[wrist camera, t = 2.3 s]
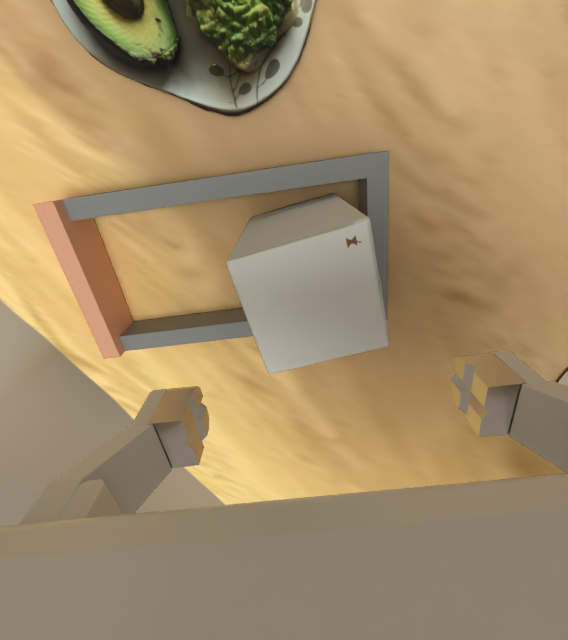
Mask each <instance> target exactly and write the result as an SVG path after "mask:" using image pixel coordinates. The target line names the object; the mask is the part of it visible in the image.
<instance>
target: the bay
mask: <svg viewBox="0 0 568 640" xmlns="http://www.w3.org/2000/svg"><path fill="white" fill-rule="evenodd" d="M357 179H358V186H359V211H360V212H361V213H363V214H364V215H366V216H367V217H368V218H369V219H370V223H371V230H372V237H373V243H374V249H375V256H376V262H377V268H378V274H379V278H380V282H381V290H382V297H383V303H384V310H385V316H386V320H387V275H388V180H389V151H383V152H375V153H369V154H362V155H355V156H349V157H342V158H335V159H329V160H322V161H315V162H309V163H302V164H295V165H289V166H282V167H275V168H268V169H262V170H255V171H248V172H242V173H235V174H228V175H222V176H215V177H208V178H202V179H195V180H188V181H182V182H175V183H168V184H162V185H155V186H148V187H142V188H135V189H128V190H122V191H115V192H108V193H102V194H95V195H88V196H82V197H75V198H68V199H62V200H56V201H50V202H44V203H38V204H33V206H34V209H35V211H36V213H37V215H38V217H39V219H40V222H41V224H42V226H43V228H44V230H45V232H46V235H47V237H48V239H49V241H50V243H51V246H52V248H53V250H54V252H55V254H56V256H57V259H58V261H59V263H60V265H61V267H62V269H63V272H64V274H65V276H66V278H67V280H68V282H69V285H70V287H71V289H72V291H73V293H74V295H75V298H76V300H77V302H78V304H79V306H80V308H81V311H82V313H83V315H84V317H85V319H86V322H87V324H88V326H89V328H90V330H91V332H92V335H93V337H94V339H95V341H96V343H97V345H98V348H99V350H100V352H101V354H102V356H103V358H104V359H107V358H116V357H120V356H121V355H122V354H123V353H124V352H125V351H129V350H137V349H146V348H155V347H163V346H172V345H180V344H189V343H197V342H206V341H215V340H223V339H232V338H240V337H249V336H253V334H252V331H251V328H250V326H249V323H248V321H247V318H246V315H245V313H244V310H243V308H239V309H231V310H223V311H215V312H207V313H199V314H190V315H182V316H174V317H166V318H158V319H150V320H141V321H133V318H132V316H131V313H130V311H129V308H128V306H127V303H126V300H125V298H124V295H123V293H122V290H121V287H120V285H119V282H118V280H117V277H116V275H115V272H114V269H113V267H112V264H111V262H110V259H109V256H108V254H107V251H106V249H105V246H104V243H103V241H102V238H101V236H100V233H99V231H98V228H97V225H96V223H95V220H94V218H95V217H102V216H109V215H116V214H123V213H129V212H136V211H143V210H150V209H157V208H164V207H171V206H178V205H185V204H191V203H198V202H205V201H212V200H219V199H226V198H233V197H240V196H247V195H253V194H260V193H267V192H274V191H281V190H288V189H295V188H302V187H309V186H316V185H322V184H329V183H336V182H343V181H350V180H357Z"/></svg>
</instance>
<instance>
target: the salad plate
mask: <svg viewBox="0 0 568 640" xmlns="http://www.w3.org/2000/svg"><path fill="white" fill-rule="evenodd" d="M51 2H52V3H53V5H54V6H55V8H56V10H57V12H58V14H59V16H60V17H61V19H62V21H63V22H64V24H65V26H66V27H67V28H68V30H69V31H70V32H71V34H72V35H73V36H74V38H75V39H76V40H77V41H78V42H79V43H80V44H81V45H82V46H83V47H84V48H85V49H86V50H87V52H88V53H89V54H90V55H91V56H92V57H94V58H95V59H96V60H98V61H99V62H100V63H102V64H103V65H105V66H107V67H108V68H110V69H111V70H113V71H115V72H117V73H119V74H121V75H123V76H126V77H128V78H130V79H133V80H135V81H137V82H139V83H141V84H143V85H145V86H148V87H152V88H155V89H158V90H161V91H163V92H166V93H169V94H171V95H174V96H176V97H179V98H181V99H184V100H186V101H188V102H190V103H191V104H194V105H196V106H198V107H200V108H202V109H204V110H207V111H214V112H217V113H220V114H224V115H227V116H237V115H241V114H243V113H246V112H249V111H251V110H252V109H254V108H256V107H258V106H259V105H261V104H262V103H264V102H265V101H267V100H268V99H270V98H271V97H272V96H273V95H274V94H275V93H276V92H277V91H278V90H279V89H280V88H281V87H282V86H283V85H284V84H285V82H286V81H287V80H288V78H289V77H290V75H291V73H292V71H293V70H294V68H295V66H296V64H297V62H298V61H299V59H300V56H301V54H302V51H303V48H304V46H305V44H306V40H307V37H308V34H309V31H310V25H311V19H312V14H313V10H314V6H315V2H316V0H51ZM214 64H216V65H214ZM212 65H213V66H212Z"/></svg>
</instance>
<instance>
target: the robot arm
mask: <svg viewBox="0 0 568 640" xmlns="http://www.w3.org/2000/svg"><path fill="white" fill-rule="evenodd" d="M452 368H453V370H454V371H455V372H456V374H455V375H454V377H453V378H452V379H451V383H450V391H451V396H452V399H453V401H454V403H455V405H456V406H457V408H458V409H459V410H461V411H463V412H465V413H467V418H466V420H467V422H468V423H469V424H470V426H471V427H472V429H473V430H474V431H475V433H476V434H477V436H478V437H483V436H497V435H509V436H510V437H511V438H513V439H515V440H516V441H518V442H519V443H521V444H522V445H524V446H526V447H527V448H529V449H530V450H532V451H533V452H535V453H537V454H538V455H540V456H541V457H543V458H544V459H546V460H548V461H549V462H551V463H552V464H554V465H555V466H557V467H559V468H560V469H562V470H563V471H565V472H566V473H565V474H554V475H544V476H533V477H522V478H511V479H500V480H490V481H479V482H468V483H457V484H446V485H435V486H425V487H414V488H403V489H392V490H381V491H370V492H359V493H349V494H338V495H327V496H316V497H305V498H295V499H284V500H273V501H263V502H252V503H241V504H231V505H220V506H210V507H198V508H188V509H177V510H165V511H156V512H155V511H154V512H144V513H135V512H136V511H137V510H138V509H139V507H140V506H141V505H142V504H143V503H144V502H145V500H146V499H147V498H148V497H149V496H150V494H152V492H153V491H154V490H155V489H156V488H157V487H158V485H159V484H160V483H161V482H162V481H163V480H164V478H165V477H166V476H167V475H168V474H169V473H170V472H171V470H172V468H178V467H186V466H193V465H199V463H200V459H201V456H202V452H203V449H204V446H203V443H202V440H203V439H204V438H205V437H206V436H207V434H208V430H209V415H208V410H207V407H206V406H205V405H204V404H202V403H201V401H202V398H203V395H202V392H201V389H200V388H199V387H198V386H193V387H182V388H171V389H162V390H154V391H152V392H150V393H149V395H148V397H147V399H146V400H145V402H144V404H143V406H142V407H141V409H140V411H139V413H138V414H137V416H136V418H135V420H134V421H133V423H132V425H131V426H130V427H125V428H124V429H122V430H121V431H120V432H118V433H117V434H116V435H114V436H113V437H111V438H110V439H109V440H107V441H106V442H105V443H103V444H102V445H100V446H99V447H98V448H97V449H95V450H94V451H92V452H91V453H89V454H88V455H87V456H85V457H84V458H83V459H81V460H80V461H78V462H77V463H76V464H74V465H73V466H72V467H70V468H69V469H67V470H66V471H65V472H63V473H62V474H61V475H59V476H58V477H56V478H55V479H54V480H52V481H51V482H50V483H48V485H47V486H46V488H45V489H44V490H43V492H42V493H41V495H40V496H39V497H38V499H37V500H36V502H35V503H34V504H33V506H32V507H31V508H30V510H29V511H28V512H27V514H26V515H25V517H24V518H23V519H22V521H21V522H20V523H19V524H14V525H3V526H0V640H568V371H567V372H566V373H565V374H564V375H563V377H562V378H561V379H560V380H559V382H558V383H557V382H554V381H546V380H545V379H543V378H542V377H541V376H540V375H539V374H537V373H536V372H535V371H534V370H533V369H531V368H530V367H529V366H528V365H527V364H525V363H524V362H523V361H522V360H520V359H519V358H518V357H517V356H516V355H514V354H513V353H512V352H510V351H507V350H502V351H495V352H489V353H485V354H476V355H468V356H459V357H455V359H454V361H453V366H452Z"/></svg>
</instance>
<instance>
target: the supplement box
mask: <svg viewBox="0 0 568 640" xmlns="http://www.w3.org/2000/svg"><path fill="white" fill-rule="evenodd" d="M226 264H227V267H228V270H229V273H230V276H231V279H232V281H233V284H234V287H235V290H236V292H237V295H238V297H239V300H240V302H241V305H242V308H243V310H244V313H245V315H246V318H247V321H248V323H249V326H250V328H251V331H252V334H253V336H254V339H255V341H256V344H257V346H258V349H259V352H260V354H261V357H262V359H263V362H264V364H265V366H266V369H267V372H268V374H273V373H277V372H282V371H286V370H290V369H295V368H299V367H303V366H307V365H311V364H316V363H320V362H324V361H328V360H332V359H336V358H341V357H345V356H350V355H355V354H360V353H364V352H369V351H373V350H378V349H383V348H387V347H389V345H390V339H389V333H388V327H387V322H386V316H385V310H384V303H383V297H382V290H381V282H380V278H379V274H378V268H377V262H376V256H375V249H374V243H373V237H372V230H371V223H370V219H369V218H368V217H367V216H366V215H364V214H363V213H361V212H360V211H359V210H357V209H356V208H354V207H353V206H351V205H350V204H348V203H347V202H346V201H344V200H343V199H341V198H340V197H338V196H337V195H336V194H334V193H331V194H328V195H325V196H322V197H318V198H315V199H311V200H308V201H305V202H301V203H298V204H294V205H291V206H288V207H284V208H281V209H278V210H274V211H271V212H268V213H264V214H261V215H258V216H255V217H252V218H251V219H250V221H249V222H248V224H247V226H246V228H245V230H244V231H243V233H242V235H241V237H240V238H239V240H238V242H237V244H236V246H235V248H234V249H233V251H232V253H231V255H230V257H229V258H228V260H227V262H226Z"/></svg>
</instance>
